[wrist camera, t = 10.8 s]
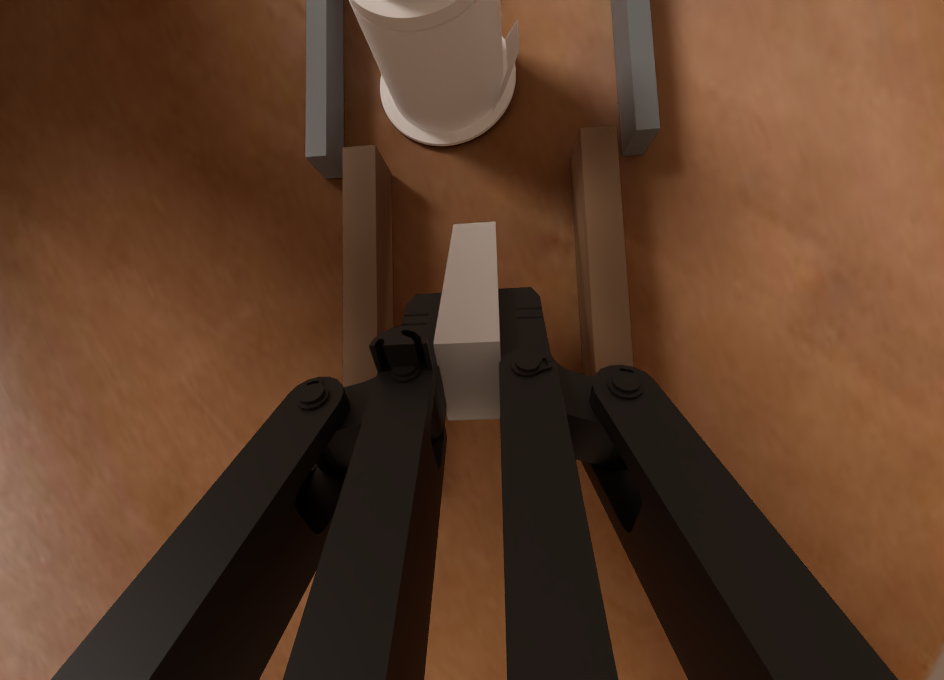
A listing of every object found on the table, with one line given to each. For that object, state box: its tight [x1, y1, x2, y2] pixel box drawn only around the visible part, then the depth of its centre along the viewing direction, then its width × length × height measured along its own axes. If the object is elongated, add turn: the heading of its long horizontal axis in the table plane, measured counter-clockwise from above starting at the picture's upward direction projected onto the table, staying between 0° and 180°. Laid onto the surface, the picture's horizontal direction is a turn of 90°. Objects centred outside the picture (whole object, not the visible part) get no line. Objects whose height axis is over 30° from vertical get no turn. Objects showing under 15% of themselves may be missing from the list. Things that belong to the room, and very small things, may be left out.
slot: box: [342, 125, 634, 387], centre depth 17 cm, size 12×14×2 cm
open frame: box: [305, 0, 660, 179], centre depth 19 cm, size 16×12×2 cm
